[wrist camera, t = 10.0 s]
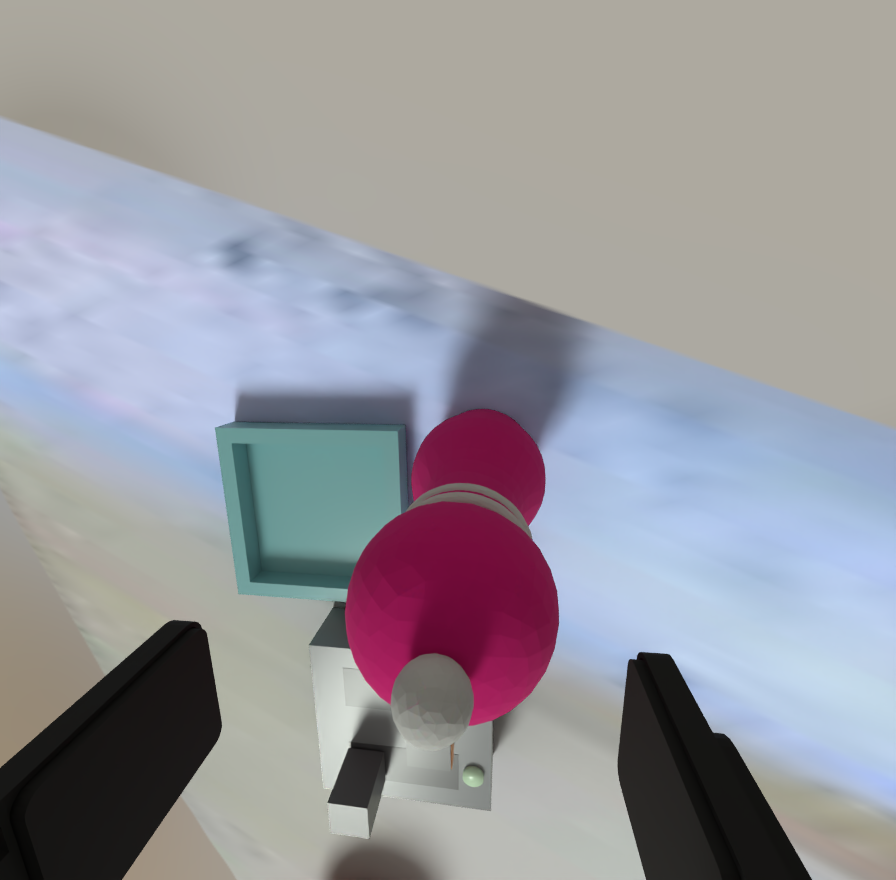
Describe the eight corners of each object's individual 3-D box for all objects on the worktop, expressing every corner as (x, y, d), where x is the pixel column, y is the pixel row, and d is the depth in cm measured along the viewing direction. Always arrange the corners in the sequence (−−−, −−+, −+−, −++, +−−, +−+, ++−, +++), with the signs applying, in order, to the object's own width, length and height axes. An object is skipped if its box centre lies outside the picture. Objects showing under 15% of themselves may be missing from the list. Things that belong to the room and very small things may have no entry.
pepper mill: (517, 523, 28) (539, 922, 9) (414, 488, 29) (225, 800, 9) (556, 421, 26) (688, 653, 7) (445, 385, 27) (286, 514, 8)
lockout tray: (405, 424, 28) (397, 431, 26) (411, 589, 31) (404, 606, 29) (234, 421, 29) (215, 427, 27) (254, 578, 32) (238, 594, 30)
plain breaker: (384, 751, 29) (367, 808, 26) (385, 779, 30) (369, 838, 26) (348, 747, 29) (327, 802, 26) (350, 775, 30) (330, 832, 26)
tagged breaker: (458, 684, 27) (451, 736, 23) (458, 717, 27) (451, 772, 24) (417, 680, 27) (404, 731, 24) (418, 712, 28) (406, 766, 24)
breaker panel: (495, 620, 30) (493, 665, 26) (492, 755, 33) (490, 815, 29) (332, 607, 32) (306, 648, 28) (343, 738, 35) (321, 792, 31)
